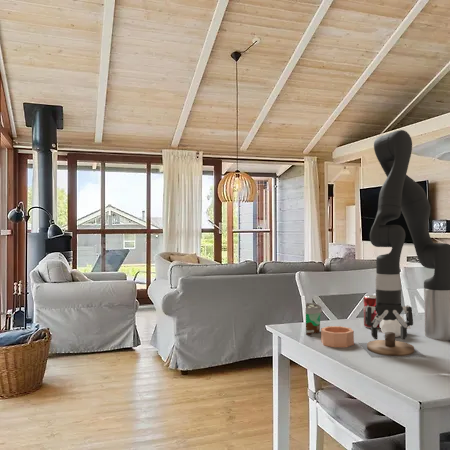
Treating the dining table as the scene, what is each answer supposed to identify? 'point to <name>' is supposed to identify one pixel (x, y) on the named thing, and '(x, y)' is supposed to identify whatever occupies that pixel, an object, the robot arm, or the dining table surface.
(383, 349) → the walnut lid
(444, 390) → the dining table surface
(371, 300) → the soda can
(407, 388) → the dining table surface
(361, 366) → the dining table surface
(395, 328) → the white garlic bulb
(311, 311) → the food container
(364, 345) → the rubber mat
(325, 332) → the terracotta bowl
